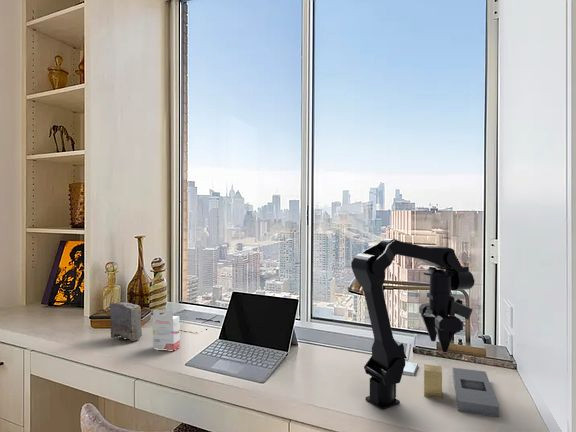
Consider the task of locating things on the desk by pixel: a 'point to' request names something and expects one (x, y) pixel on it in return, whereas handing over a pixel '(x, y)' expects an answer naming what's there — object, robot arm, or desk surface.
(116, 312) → the geological specimen
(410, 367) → the hard drive
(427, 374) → the brass block
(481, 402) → the grey flat rectangular block
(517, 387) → the desk surface
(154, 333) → the ink cartridge box
